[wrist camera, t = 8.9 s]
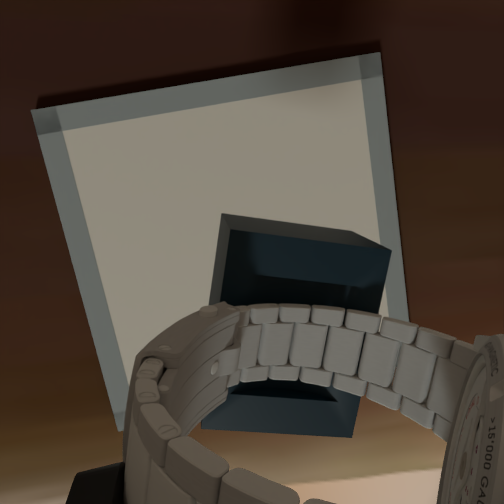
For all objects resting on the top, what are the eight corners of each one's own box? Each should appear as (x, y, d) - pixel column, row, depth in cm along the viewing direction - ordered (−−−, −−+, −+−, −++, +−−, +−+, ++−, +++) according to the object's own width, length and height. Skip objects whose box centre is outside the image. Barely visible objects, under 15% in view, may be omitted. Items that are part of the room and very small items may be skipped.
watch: (373, 388, 17) (705, 810, 6) (145, 371, 15) (50, 869, 5) (407, 235, 16) (880, 417, 5) (164, 202, 14) (99, 351, 4)
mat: (119, 425, 27) (118, 431, 27) (34, 111, 23) (30, 110, 23) (408, 358, 29) (413, 362, 29) (375, 54, 25) (380, 51, 25)
